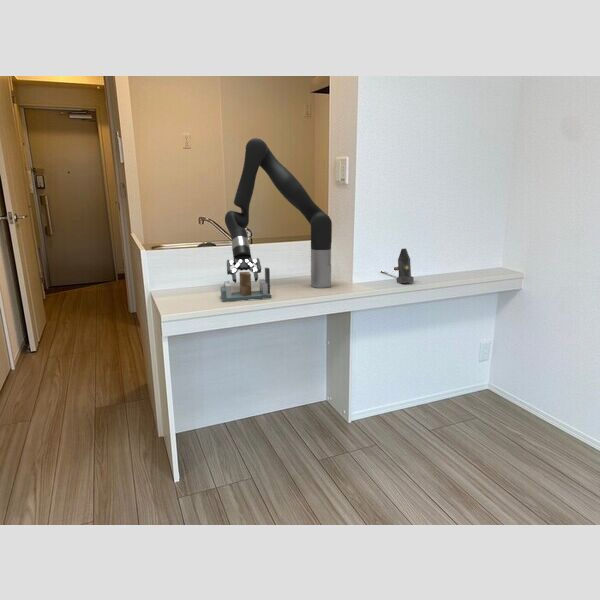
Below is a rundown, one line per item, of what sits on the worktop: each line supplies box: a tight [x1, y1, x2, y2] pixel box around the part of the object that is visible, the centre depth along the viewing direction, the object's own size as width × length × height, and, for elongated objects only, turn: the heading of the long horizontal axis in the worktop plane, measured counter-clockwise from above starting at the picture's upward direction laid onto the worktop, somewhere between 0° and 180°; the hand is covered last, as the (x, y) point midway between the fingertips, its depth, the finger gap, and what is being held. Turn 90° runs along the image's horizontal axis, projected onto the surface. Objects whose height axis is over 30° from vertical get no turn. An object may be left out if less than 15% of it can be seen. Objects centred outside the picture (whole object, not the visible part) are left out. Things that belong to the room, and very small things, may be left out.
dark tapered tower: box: [393, 248, 415, 284], centre depth 231 cm, size 6×16×30 cm
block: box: [238, 271, 252, 296], centre depth 194 cm, size 4×5×9 cm
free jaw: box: [258, 267, 271, 295], centre depth 196 cm, size 4×9×10 cm, turn 14°
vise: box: [220, 280, 272, 303], centre depth 195 cm, size 20×9×6 cm, turn 104°
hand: (245, 281), depth 193 cm, fingers open, 8 cm apart
